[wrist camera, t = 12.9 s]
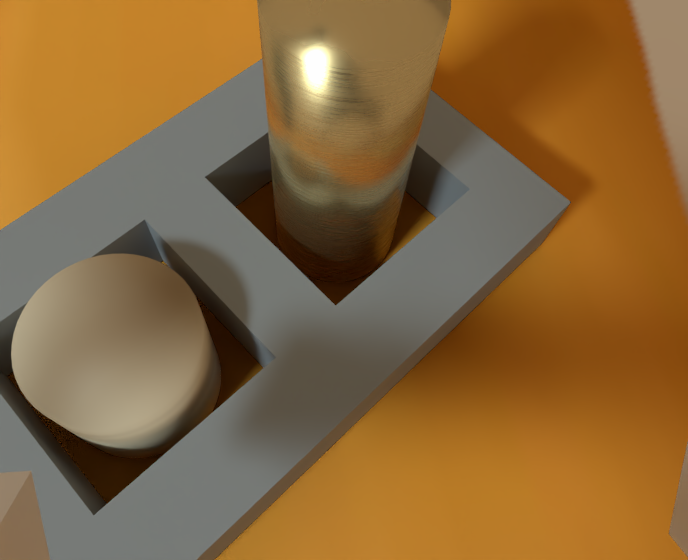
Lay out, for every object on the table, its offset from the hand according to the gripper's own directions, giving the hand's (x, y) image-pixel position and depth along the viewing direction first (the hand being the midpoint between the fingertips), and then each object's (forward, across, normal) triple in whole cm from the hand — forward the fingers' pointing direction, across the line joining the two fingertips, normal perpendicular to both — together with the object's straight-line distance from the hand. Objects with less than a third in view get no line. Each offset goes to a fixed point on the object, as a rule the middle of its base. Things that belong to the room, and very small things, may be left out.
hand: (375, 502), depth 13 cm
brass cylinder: (+13, 0, +2) cm, 14 cm away
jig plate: (+11, -3, 0) cm, 12 cm away
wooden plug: (+9, -7, -2) cm, 12 cm away
